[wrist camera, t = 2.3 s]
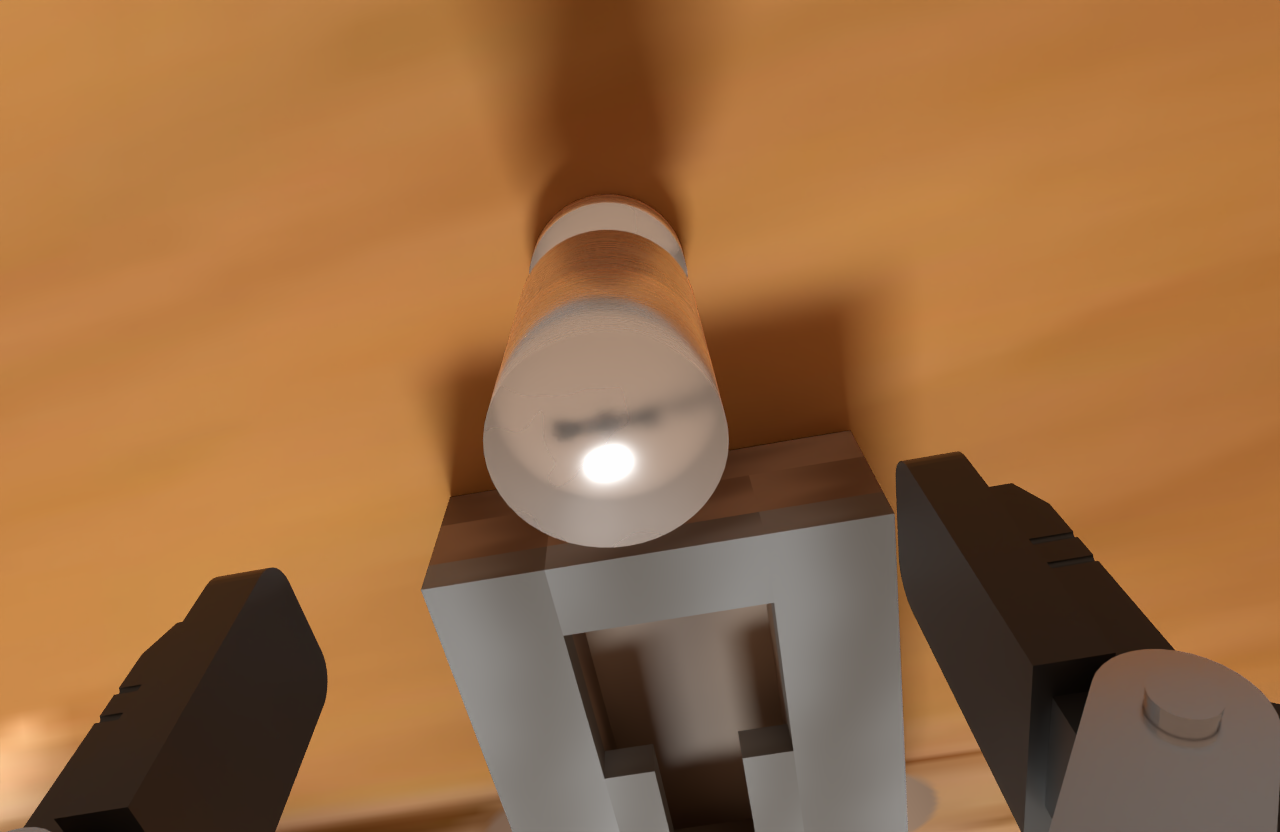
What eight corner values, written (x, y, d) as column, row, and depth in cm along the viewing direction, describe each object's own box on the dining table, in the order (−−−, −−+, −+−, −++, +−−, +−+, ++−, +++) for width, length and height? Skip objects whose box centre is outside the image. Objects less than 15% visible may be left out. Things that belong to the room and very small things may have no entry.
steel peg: (671, 180, 21) (710, 312, 13) (695, 327, 23) (742, 527, 14) (515, 209, 21) (453, 358, 13) (551, 352, 23) (516, 563, 15)
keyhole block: (850, 430, 24) (894, 513, 21) (877, 829, 33) (912, 941, 29) (450, 497, 25) (421, 590, 21) (575, 871, 33) (570, 986, 30)
